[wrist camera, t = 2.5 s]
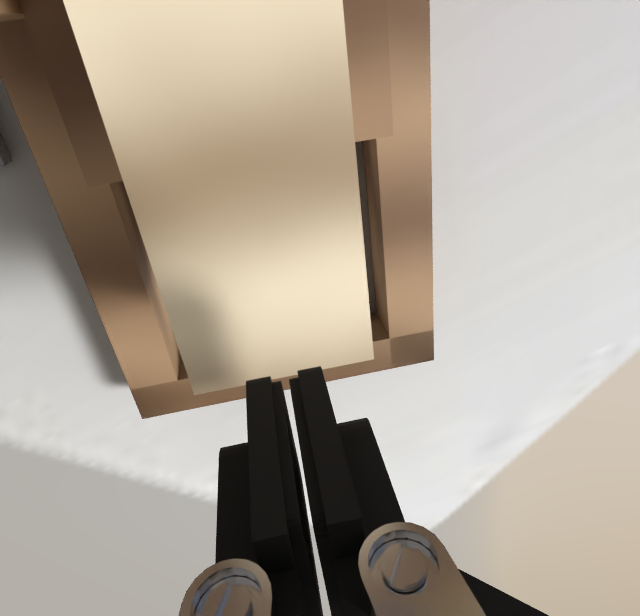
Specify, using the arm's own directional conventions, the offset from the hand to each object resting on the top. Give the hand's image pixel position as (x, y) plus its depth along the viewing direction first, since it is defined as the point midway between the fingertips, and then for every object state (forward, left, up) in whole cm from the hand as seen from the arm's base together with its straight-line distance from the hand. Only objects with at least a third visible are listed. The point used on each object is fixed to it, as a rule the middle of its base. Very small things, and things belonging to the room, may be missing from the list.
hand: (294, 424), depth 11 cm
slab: (-5, 0, -6) cm, 8 cm away
